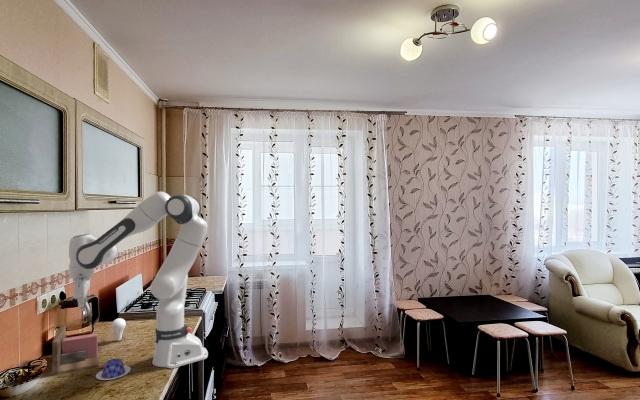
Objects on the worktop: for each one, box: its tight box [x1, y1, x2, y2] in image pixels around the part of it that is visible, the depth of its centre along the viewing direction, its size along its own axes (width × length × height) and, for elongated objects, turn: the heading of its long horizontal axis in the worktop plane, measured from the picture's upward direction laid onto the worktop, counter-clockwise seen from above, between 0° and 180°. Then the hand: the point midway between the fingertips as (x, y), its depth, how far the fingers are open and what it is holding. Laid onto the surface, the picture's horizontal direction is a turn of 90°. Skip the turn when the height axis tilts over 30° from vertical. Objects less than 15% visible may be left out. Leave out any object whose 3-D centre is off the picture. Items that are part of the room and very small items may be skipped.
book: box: [63, 332, 98, 359], centre depth 152 cm, size 12×4×9 cm, turn 119°
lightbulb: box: [111, 317, 127, 342], centre depth 174 cm, size 6×6×11 cm
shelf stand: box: [49, 325, 102, 377], centre depth 151 cm, size 16×22×13 cm
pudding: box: [95, 357, 132, 381], centre depth 140 cm, size 12×12×5 cm
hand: (82, 304), depth 151 cm, fingers open, 8 cm apart
